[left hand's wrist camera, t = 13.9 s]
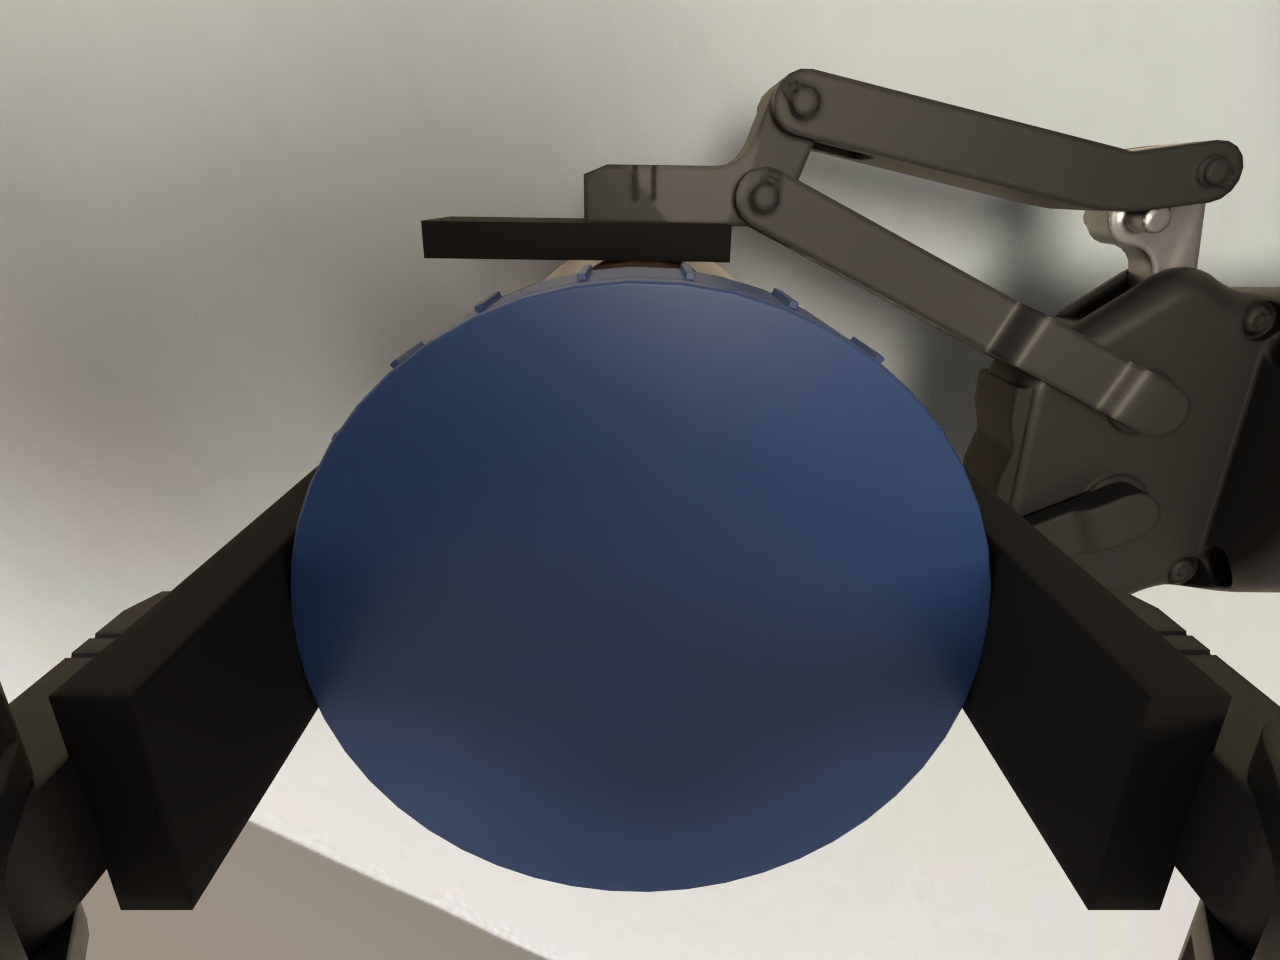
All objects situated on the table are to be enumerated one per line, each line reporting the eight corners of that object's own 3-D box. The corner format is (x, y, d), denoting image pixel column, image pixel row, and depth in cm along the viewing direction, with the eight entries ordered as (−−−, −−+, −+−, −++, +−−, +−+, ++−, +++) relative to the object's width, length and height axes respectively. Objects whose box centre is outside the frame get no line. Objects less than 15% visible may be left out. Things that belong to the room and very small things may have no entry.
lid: (207, 428, 11) (130, 470, 9) (829, 135, 10) (868, 122, 8) (511, 874, 14) (494, 963, 12) (1013, 700, 13) (1069, 775, 11)
